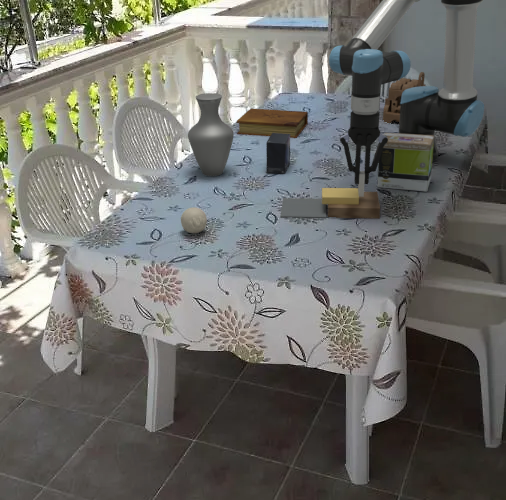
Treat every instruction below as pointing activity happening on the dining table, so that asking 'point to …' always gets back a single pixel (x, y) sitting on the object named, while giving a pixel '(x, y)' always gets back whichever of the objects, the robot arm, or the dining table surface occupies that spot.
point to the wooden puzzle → (399, 97)
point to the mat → (303, 208)
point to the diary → (272, 122)
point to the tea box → (406, 162)
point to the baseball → (193, 220)
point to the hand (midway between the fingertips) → (360, 194)
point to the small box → (278, 153)
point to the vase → (210, 136)
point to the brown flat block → (357, 208)
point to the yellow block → (340, 196)
